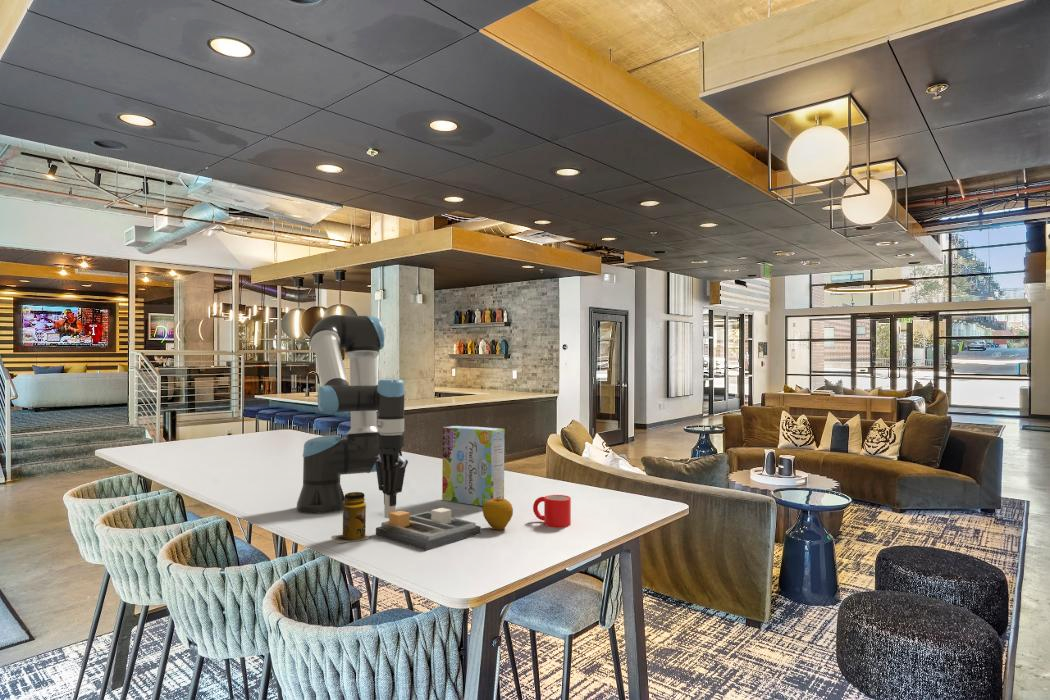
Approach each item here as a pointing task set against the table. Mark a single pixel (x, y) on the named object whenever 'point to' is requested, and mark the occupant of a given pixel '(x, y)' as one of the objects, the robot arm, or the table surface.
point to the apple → (497, 513)
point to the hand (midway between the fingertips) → (389, 516)
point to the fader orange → (399, 518)
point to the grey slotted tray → (428, 531)
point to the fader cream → (441, 515)
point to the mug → (554, 510)
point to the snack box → (472, 464)
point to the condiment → (353, 518)
